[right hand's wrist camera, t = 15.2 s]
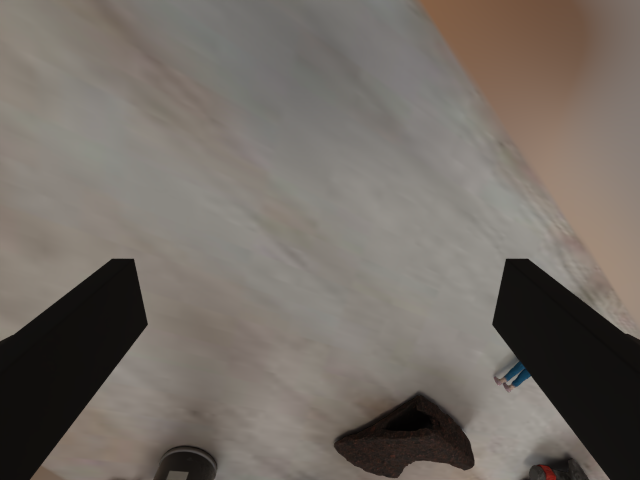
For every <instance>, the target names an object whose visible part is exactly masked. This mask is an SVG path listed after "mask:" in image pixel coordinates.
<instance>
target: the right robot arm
mask: <svg viewBox="0 0 640 480" xmlns="http://www.w3.org/2000/svg"><path fill="white" fill-rule="evenodd" d="M147 325H148V323H147V318H146V314H145V309H144V304H143V299H142V295H141V290H140V285H139V281H138V276H137V271H136V266H135V262H134V259H111V260H110V261H109V262H107V263H106V264H105V265H103V266H102V267H101V268H100V269H98V270H97V271H96V272H94V273H93V274H92V275H91V276H89V277H88V278H87V279H85V280H84V281H83V282H81V283H80V284H79V285H78V286H76V287H75V288H74V289H72V290H71V291H70V292H69V293H67V294H66V295H65V296H63V297H62V298H61V299H59V300H58V301H57V302H56V303H54V304H53V305H52V306H50V307H49V308H48V309H46V310H45V311H44V312H43V313H41V314H40V315H39V316H37V317H36V318H35V319H34V320H32V321H31V322H30V323H28V324H27V325H26V326H24V327H23V328H22V329H21V330H19V331H18V332H17V333H15V334H14V335H12V336H10V337H8V338H6V339H4V340H2V341H0V480H30V479H31V477H32V476H33V475H34V473H35V472H36V471H37V470H38V468H39V467H40V466H41V464H42V463H43V462H44V460H45V459H46V458H47V456H48V455H49V454H50V452H51V451H52V450H53V449H54V447H55V446H56V445H57V443H58V442H59V441H60V439H61V438H62V437H63V435H64V434H65V433H66V431H67V430H68V429H69V428H70V426H71V425H72V424H73V422H74V421H75V420H76V418H77V417H78V416H79V414H80V413H81V412H82V410H83V409H84V408H85V406H86V405H87V404H88V403H89V401H90V400H91V399H92V397H93V396H94V395H95V393H96V392H97V391H98V389H99V388H100V387H101V385H102V384H103V383H104V382H105V380H106V379H107V378H108V376H109V375H110V374H111V372H112V371H113V370H114V368H115V367H116V366H117V364H118V363H119V362H120V361H121V359H122V358H123V357H124V355H125V354H126V353H127V351H128V350H129V349H130V347H131V346H132V345H133V343H134V342H135V341H136V339H137V338H138V337H139V336H140V334H141V333H142V332H143V330H144V329H145V328H146V326H147ZM492 325H493V326H494V328H495V329H496V330H497V332H498V333H499V334H500V336H501V337H502V338H503V339H504V341H505V342H506V343H507V345H508V346H509V347H510V349H511V350H512V351H513V353H514V354H515V355H516V357H517V358H518V359H519V361H520V362H521V363H522V364H523V366H524V367H525V368H526V370H527V371H528V372H529V374H530V375H531V376H532V378H533V379H534V380H535V382H536V383H537V384H538V385H539V387H540V388H541V389H542V391H543V392H544V393H545V395H546V396H547V397H548V399H549V400H550V401H551V403H552V404H553V405H554V406H555V408H556V409H557V410H558V412H559V413H560V414H561V416H562V417H563V418H564V420H565V421H566V422H567V424H568V425H569V426H570V428H571V429H572V430H573V431H574V433H575V434H576V435H577V437H578V438H579V439H580V441H581V442H582V443H583V445H584V446H585V447H586V449H587V450H588V451H589V452H590V454H591V455H592V456H593V458H594V459H595V460H596V462H597V463H598V464H599V466H600V467H601V468H602V470H603V471H604V472H605V474H606V475H607V476H608V477H609V479H610V480H640V340H639V339H637V338H635V337H633V336H631V335H629V334H625V333H623V332H622V331H621V330H619V329H618V328H617V327H616V326H614V325H613V324H612V323H610V322H609V321H608V320H606V319H605V318H604V317H603V316H601V315H600V314H599V313H597V312H596V311H595V310H594V309H592V308H591V307H590V306H588V305H587V304H586V303H584V302H583V301H582V300H581V299H579V298H578V297H577V296H575V295H574V294H573V293H571V292H570V291H569V290H568V289H566V288H565V287H564V286H562V285H561V284H560V283H559V282H557V281H556V280H555V279H553V278H552V277H551V276H549V275H548V274H547V273H546V272H544V271H543V270H542V269H540V268H539V267H538V266H537V265H535V264H534V263H533V262H531V261H530V260H529V259H506V262H505V266H504V271H503V276H502V281H501V285H500V290H499V295H498V299H497V304H496V309H495V314H494V318H493V323H492Z"/></svg>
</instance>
